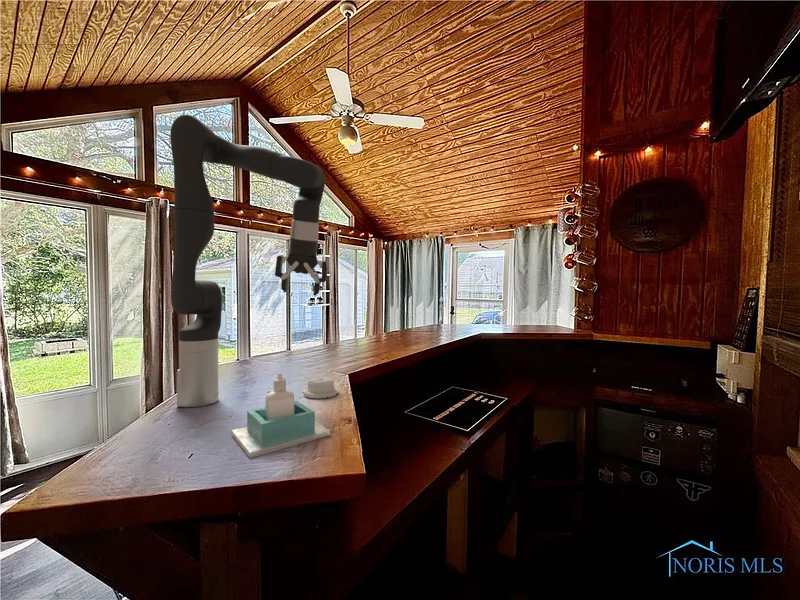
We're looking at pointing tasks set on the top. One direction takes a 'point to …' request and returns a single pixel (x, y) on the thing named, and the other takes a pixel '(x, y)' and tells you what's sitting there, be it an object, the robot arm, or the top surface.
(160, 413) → the top surface
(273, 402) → the eye dropper bottle
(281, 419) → the tray
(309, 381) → the mechanical component
